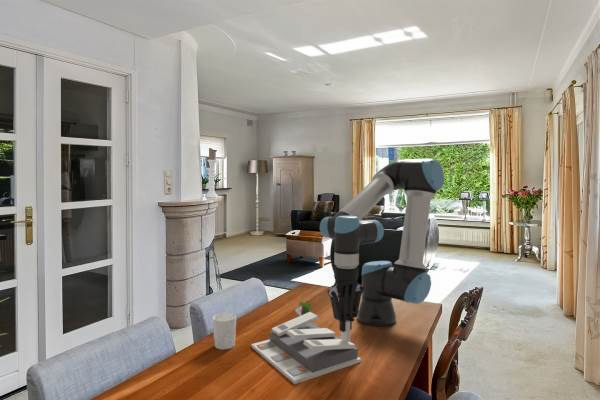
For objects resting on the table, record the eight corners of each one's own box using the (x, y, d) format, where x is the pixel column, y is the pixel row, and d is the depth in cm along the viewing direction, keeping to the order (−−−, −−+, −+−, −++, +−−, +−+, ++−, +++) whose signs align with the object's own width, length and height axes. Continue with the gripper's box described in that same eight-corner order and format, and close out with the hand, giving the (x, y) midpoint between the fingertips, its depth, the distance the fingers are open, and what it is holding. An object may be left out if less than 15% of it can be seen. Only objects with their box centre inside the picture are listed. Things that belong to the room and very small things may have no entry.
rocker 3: (344, 342, 125) (345, 338, 125) (354, 348, 121) (355, 344, 121) (303, 344, 117) (304, 339, 117) (312, 350, 112) (313, 345, 113)
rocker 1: (310, 314, 142) (310, 311, 142) (318, 319, 138) (317, 315, 138) (272, 331, 134) (271, 328, 134) (279, 336, 130) (278, 333, 129)
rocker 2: (326, 331, 134) (326, 327, 134) (335, 336, 129) (335, 332, 129) (286, 333, 125) (286, 329, 125) (294, 339, 121) (295, 335, 121)
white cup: (231, 351, 128) (231, 321, 128) (209, 349, 130) (208, 320, 129) (240, 341, 136) (239, 313, 135) (218, 339, 138) (218, 312, 137)
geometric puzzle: (300, 308, 163) (296, 297, 158) (316, 310, 161) (312, 298, 156) (296, 323, 158) (291, 312, 153) (312, 325, 156) (308, 314, 151)
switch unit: (310, 331, 144) (310, 321, 144) (361, 361, 121) (361, 349, 120) (251, 347, 132) (251, 335, 131) (294, 384, 108) (294, 370, 108)
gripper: (354, 261, 127) (353, 332, 129) (322, 266, 121) (321, 341, 122) (370, 265, 121) (369, 340, 122) (337, 270, 114) (336, 349, 115)
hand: (345, 340), depth 122 cm, fingers closed
